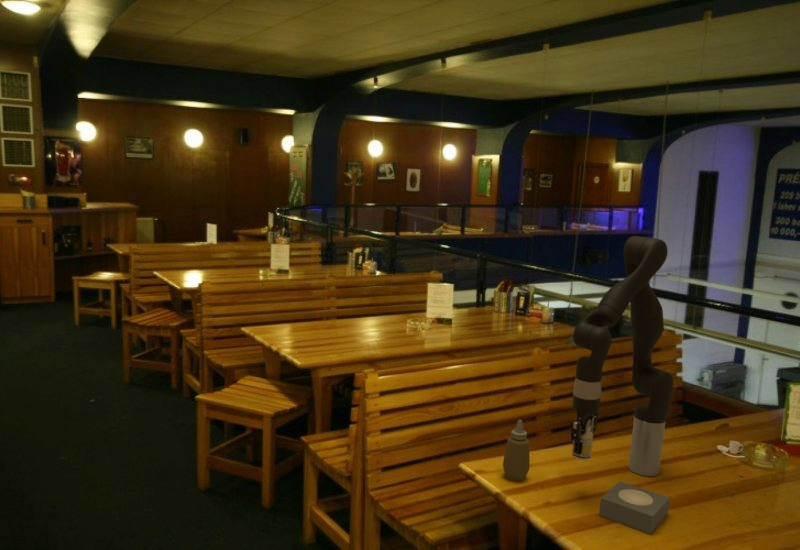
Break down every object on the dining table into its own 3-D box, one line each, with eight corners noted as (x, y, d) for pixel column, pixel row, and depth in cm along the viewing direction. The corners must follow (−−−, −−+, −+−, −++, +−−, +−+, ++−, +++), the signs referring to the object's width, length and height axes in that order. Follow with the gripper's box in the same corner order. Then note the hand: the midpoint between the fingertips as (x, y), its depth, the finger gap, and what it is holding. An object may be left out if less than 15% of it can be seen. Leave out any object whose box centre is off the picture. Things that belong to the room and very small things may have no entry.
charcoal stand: (618, 497, 198) (620, 480, 197) (667, 514, 189) (669, 496, 188) (598, 515, 187) (600, 497, 186) (650, 534, 178) (652, 515, 178)
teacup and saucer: (713, 451, 236) (715, 440, 235) (723, 446, 241) (725, 435, 241) (740, 460, 230) (741, 449, 229) (749, 455, 235) (751, 443, 234)
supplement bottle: (576, 451, 201) (579, 419, 200) (594, 456, 198) (597, 424, 196) (568, 456, 197) (571, 424, 195) (586, 462, 194) (589, 429, 192)
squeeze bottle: (496, 472, 209) (501, 416, 206) (520, 470, 212) (524, 414, 209) (510, 484, 202) (515, 426, 199) (533, 481, 205) (539, 424, 202)
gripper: (589, 403, 186) (584, 462, 189) (609, 390, 198) (604, 446, 200) (563, 397, 191) (558, 454, 194) (584, 384, 202) (580, 439, 205)
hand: (582, 449), depth 197 cm, fingers closed on supplement bottle, 5 cm apart
